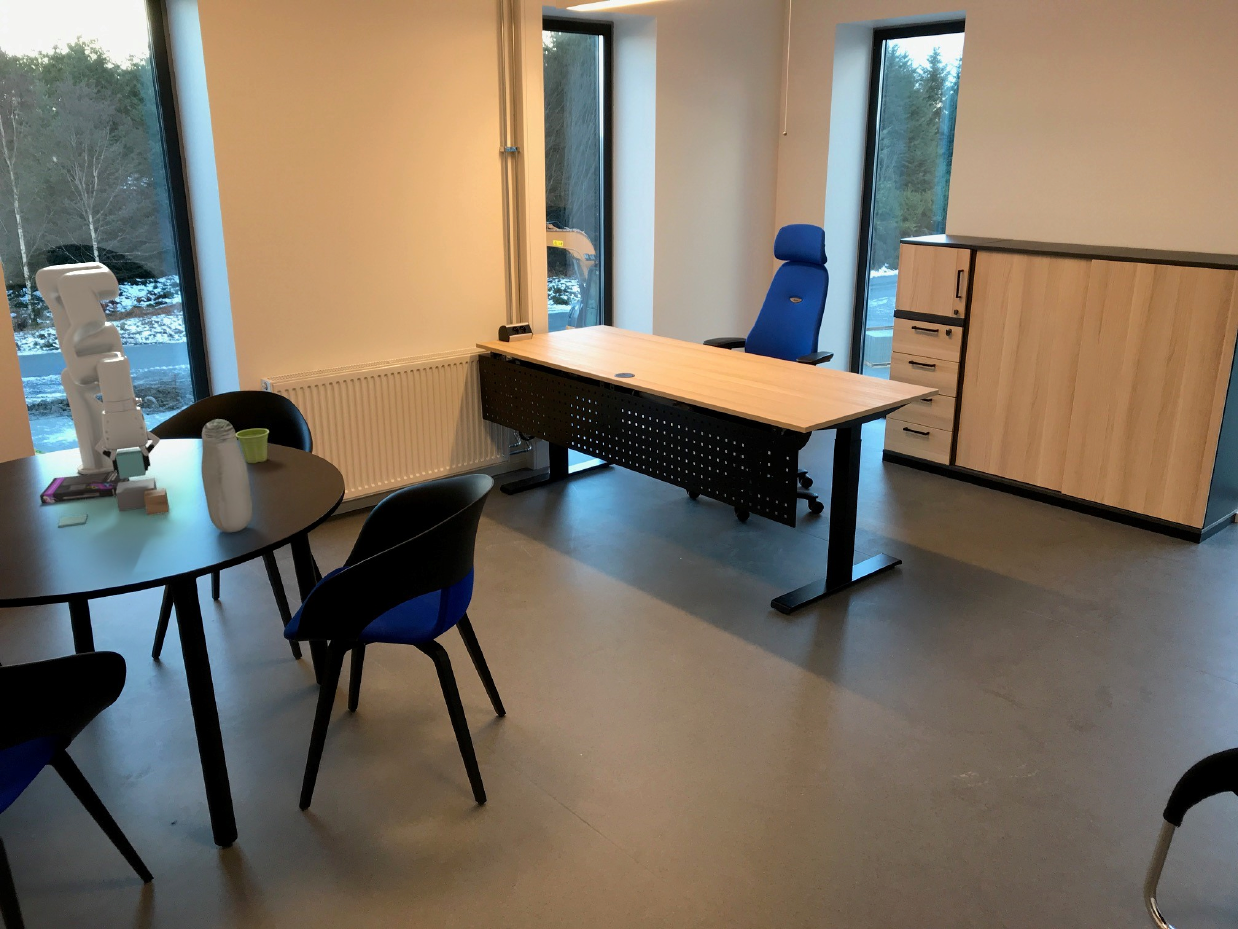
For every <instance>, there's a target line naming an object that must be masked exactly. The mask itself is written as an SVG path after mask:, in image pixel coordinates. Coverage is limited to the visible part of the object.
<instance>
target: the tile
mask: <svg viewBox="0 0 1238 929" xmlns="http://www.w3.org/2000/svg"><path fill="white" fill-rule="evenodd" d="M87 519H88V514H87V513H86V514H85V513H84V514H78V515H77V514H76V515H71V516H65V517H64V516H63V517H60V519H59V522H58V525H57V526H58V528H64V527H65V528H66V527H71V526H79V525H84V524H87V523H86V521H87Z"/></svg>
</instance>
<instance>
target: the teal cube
mask: <svg viewBox="0 0 1238 929" xmlns="http://www.w3.org/2000/svg"><path fill="white" fill-rule="evenodd" d="M116 460H117V465H118V470H119V475H120V479H122V478H129V479H130V478H134V477H135V478H136V477H143V476H146V473H147V471H146V470H145V467H144V462H143V453H142V451H141V450H140V448H139V447H134V448H126V449H118V450H117V455H116Z"/></svg>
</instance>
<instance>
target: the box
mask: <svg viewBox="0 0 1238 929" xmlns="http://www.w3.org/2000/svg"><path fill="white" fill-rule="evenodd" d="M128 481H130V478H122V479H120V475H119V474H118V475H117V471H113V472H108V473H102V474H92V475H86V474H82V475H72V476H62V477H61V476H60V477H54V478H53V479H52V481H51V482H50V483H49V484H48V485H47V487H45V489H44V490H43V491H42V492H41V494H40V495H39V500H40V503H41V504H42V503H45V504H54V503H61V502H64V503H65V502H75V501H82V500H92V499H102V498H112V497H116V490H117V486H118V483H121V482H128Z"/></svg>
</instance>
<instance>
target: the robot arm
mask: <svg viewBox="0 0 1238 929" xmlns="http://www.w3.org/2000/svg"><path fill="white" fill-rule="evenodd" d="M35 282H36V283H35V284H36V287H37V290H38V292H39V294H40V296H41V298H42V299H43V301H44V302H45V304H46V305H47V307H48V309H49V310H50V312H51V316H52V319H53V324H54V329H55V332H56V333H55V334H56V338H57V342H58V346H59V349H60V352H61V354H62V357H63V360H64V362H65V365H66V367H65V368H64V369H62V371H61V373H60V382H61V386H62V387H63V390H64V392H65V395H66V398H67V401H68V404H69V408H70V412H71V416H72V420H73V426H74V430H75V435H76V439H77V444H78V449H79V454H80V458H81V464H80V465H78V466H77V468H76V469H77V472H78V473H79V474H82V475H92V474H103V473H113V472H117V475H118V474H119V470H118V465H117V460H116V455H117V451H118V450H126V449H134V448H140V450H141V451H142V453H143V462H144V467H145V470H146V472H147V471H149V467H151V460H150V454H151V452H152V451H153V450H154V449H155V447H156V446H157V445H158V444H159V443H160V441H161V439H160V438H159V437H158V436H156V435H155V434H153V433H152V432H150V431H149V430H148V428H147V424H146V420H145V416H144V414H143V410H142V408H141V407H140V406H138V405H140V404H143V401H142V398H141V397H140V398H138V397H136V396H135V390H134V385H133V380H132V374H131V364H130V361H129V358H128V357H127V356H126V355H125V351H124V347H123V342H122V339H121V334H120V332H119V329H118V328H117V326H116V325H115V324H113V323H112V322H107V317H106V314H105V312H104V309H103V307H102V305H101V302H105V301H112V300H115V299H117V298H118V296H119V295H120V287H119V282H118V280H117V277H116V276H115V274H114V273H113V272H112V270H111V269H110V268H108V267H107V266H106V265H104V264H103V263H100V262H85V263H75V264H74V263H73V264H60V265H51V266H46V267H44V268H41V269H38V270H37V272H36V274H35ZM99 395H101V398H102V399H101V400H102V401H101V400H99V399H98V398H97V396H99ZM149 440H151V442H150V444H148V443H149V442H148V441H149Z"/></svg>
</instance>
